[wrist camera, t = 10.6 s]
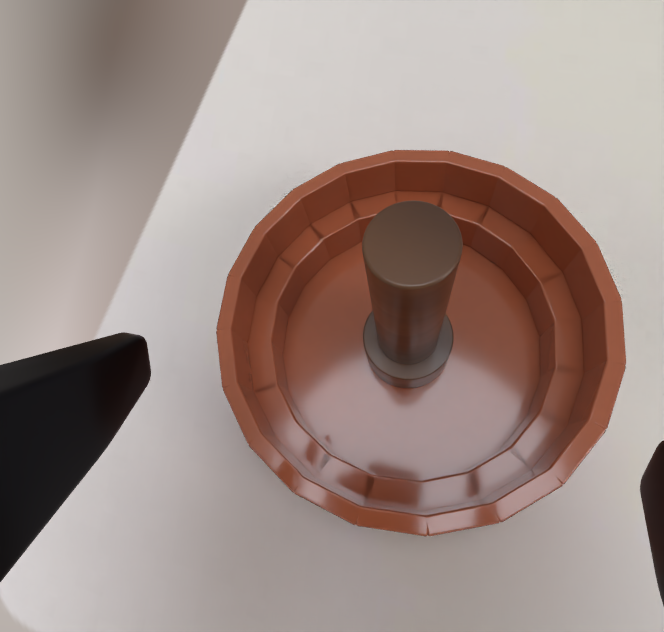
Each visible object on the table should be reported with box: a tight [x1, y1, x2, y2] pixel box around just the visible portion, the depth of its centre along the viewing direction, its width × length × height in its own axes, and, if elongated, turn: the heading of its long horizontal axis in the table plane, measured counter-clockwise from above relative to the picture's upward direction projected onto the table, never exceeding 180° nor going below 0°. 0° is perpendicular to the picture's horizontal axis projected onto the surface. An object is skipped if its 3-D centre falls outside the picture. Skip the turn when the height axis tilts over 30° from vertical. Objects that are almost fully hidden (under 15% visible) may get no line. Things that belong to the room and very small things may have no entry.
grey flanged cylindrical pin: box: [362, 200, 463, 388], centre depth 16 cm, size 4×4×10 cm
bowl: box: [216, 150, 626, 536], centre depth 19 cm, size 14×14×5 cm
